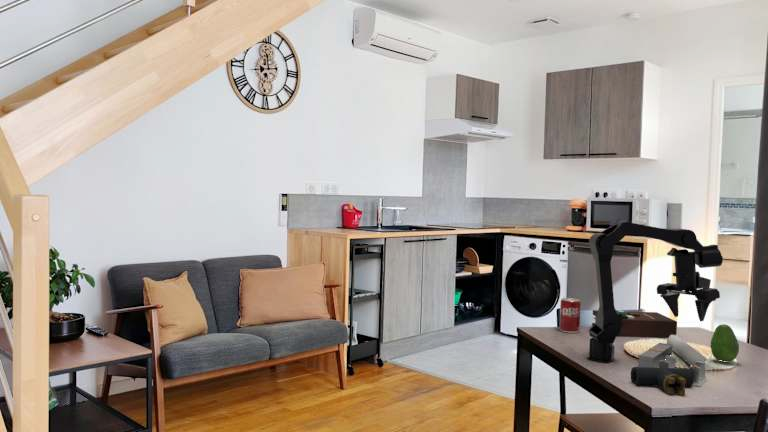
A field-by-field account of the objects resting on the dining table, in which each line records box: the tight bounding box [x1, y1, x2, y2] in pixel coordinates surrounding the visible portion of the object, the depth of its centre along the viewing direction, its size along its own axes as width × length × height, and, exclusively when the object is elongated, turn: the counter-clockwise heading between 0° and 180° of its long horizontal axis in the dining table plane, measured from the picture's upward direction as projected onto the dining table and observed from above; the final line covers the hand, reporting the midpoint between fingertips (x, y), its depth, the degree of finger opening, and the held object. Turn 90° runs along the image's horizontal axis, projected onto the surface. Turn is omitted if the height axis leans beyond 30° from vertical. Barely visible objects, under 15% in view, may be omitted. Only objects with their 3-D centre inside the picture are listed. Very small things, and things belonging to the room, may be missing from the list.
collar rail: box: [658, 355, 707, 387], centre depth 176 cm, size 11×8×5 cm
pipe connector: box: [630, 366, 693, 396], centre depth 167 cm, size 12×5×15 cm
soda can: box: [559, 297, 582, 334], centre depth 234 cm, size 7×7×12 cm
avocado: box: [710, 324, 740, 362], centre depth 196 cm, size 8×8×12 cm
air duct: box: [637, 342, 673, 368], centre depth 193 cm, size 22×4×4 cm, turn 141°
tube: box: [666, 334, 707, 366], centre depth 199 cm, size 5×5×25 cm
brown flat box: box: [591, 309, 678, 339], centre depth 236 cm, size 19×8×30 cm
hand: (688, 318), depth 193 cm, fingers open, 9 cm apart
